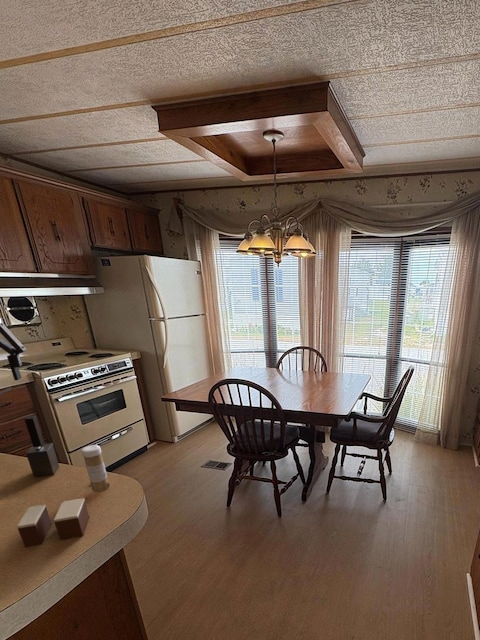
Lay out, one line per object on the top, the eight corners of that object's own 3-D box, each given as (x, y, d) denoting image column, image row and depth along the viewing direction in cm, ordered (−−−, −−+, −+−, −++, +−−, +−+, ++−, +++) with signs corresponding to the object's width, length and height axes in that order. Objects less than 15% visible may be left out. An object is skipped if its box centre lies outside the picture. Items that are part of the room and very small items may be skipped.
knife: (46, 475, 108) (27, 415, 100) (54, 474, 109) (36, 415, 101) (43, 479, 106) (24, 419, 98) (51, 478, 106) (32, 418, 99)
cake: (68, 521, 88) (62, 501, 85) (89, 517, 90) (84, 497, 87) (60, 540, 81) (53, 519, 79) (83, 536, 83) (77, 515, 80)
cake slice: (36, 526, 85) (29, 506, 83) (51, 524, 86) (45, 504, 84) (24, 547, 79) (16, 526, 76) (42, 544, 80) (34, 523, 77)
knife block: (41, 473, 109) (32, 445, 105) (60, 471, 111) (52, 443, 107) (35, 482, 104) (25, 453, 100) (55, 479, 106) (46, 450, 102)
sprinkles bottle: (98, 484, 104) (87, 444, 99) (113, 484, 104) (103, 444, 99) (88, 492, 100) (77, 451, 95) (104, 492, 100) (93, 451, 95)
